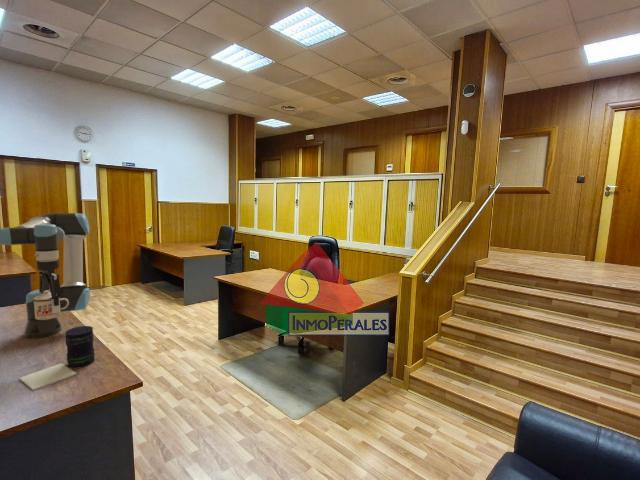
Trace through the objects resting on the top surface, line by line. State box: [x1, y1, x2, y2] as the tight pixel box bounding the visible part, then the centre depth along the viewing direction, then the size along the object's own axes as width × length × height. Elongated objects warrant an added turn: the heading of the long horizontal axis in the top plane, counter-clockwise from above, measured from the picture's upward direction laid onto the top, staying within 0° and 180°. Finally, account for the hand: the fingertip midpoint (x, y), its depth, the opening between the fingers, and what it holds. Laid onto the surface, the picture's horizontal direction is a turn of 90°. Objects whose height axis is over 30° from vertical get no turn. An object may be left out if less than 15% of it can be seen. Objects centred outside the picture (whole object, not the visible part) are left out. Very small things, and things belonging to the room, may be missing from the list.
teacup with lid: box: [33, 290, 69, 320], centre depth 143 cm, size 12×9×12 cm
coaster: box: [19, 363, 77, 391], centre depth 132 cm, size 14×14×1 cm
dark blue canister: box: [65, 325, 96, 369], centre depth 143 cm, size 10×10×15 cm
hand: (51, 310), depth 143 cm, fingers closed on teacup with lid, 9 cm apart
